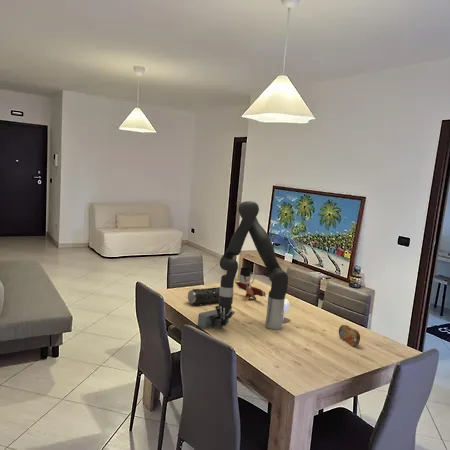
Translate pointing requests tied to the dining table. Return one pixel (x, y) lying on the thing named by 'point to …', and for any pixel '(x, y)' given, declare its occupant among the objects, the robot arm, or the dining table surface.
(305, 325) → the dining table surface
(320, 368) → the dining table surface
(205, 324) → the block
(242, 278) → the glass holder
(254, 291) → the decorative bird
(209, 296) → the muzzle brake
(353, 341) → the tin
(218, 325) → the plug rod
